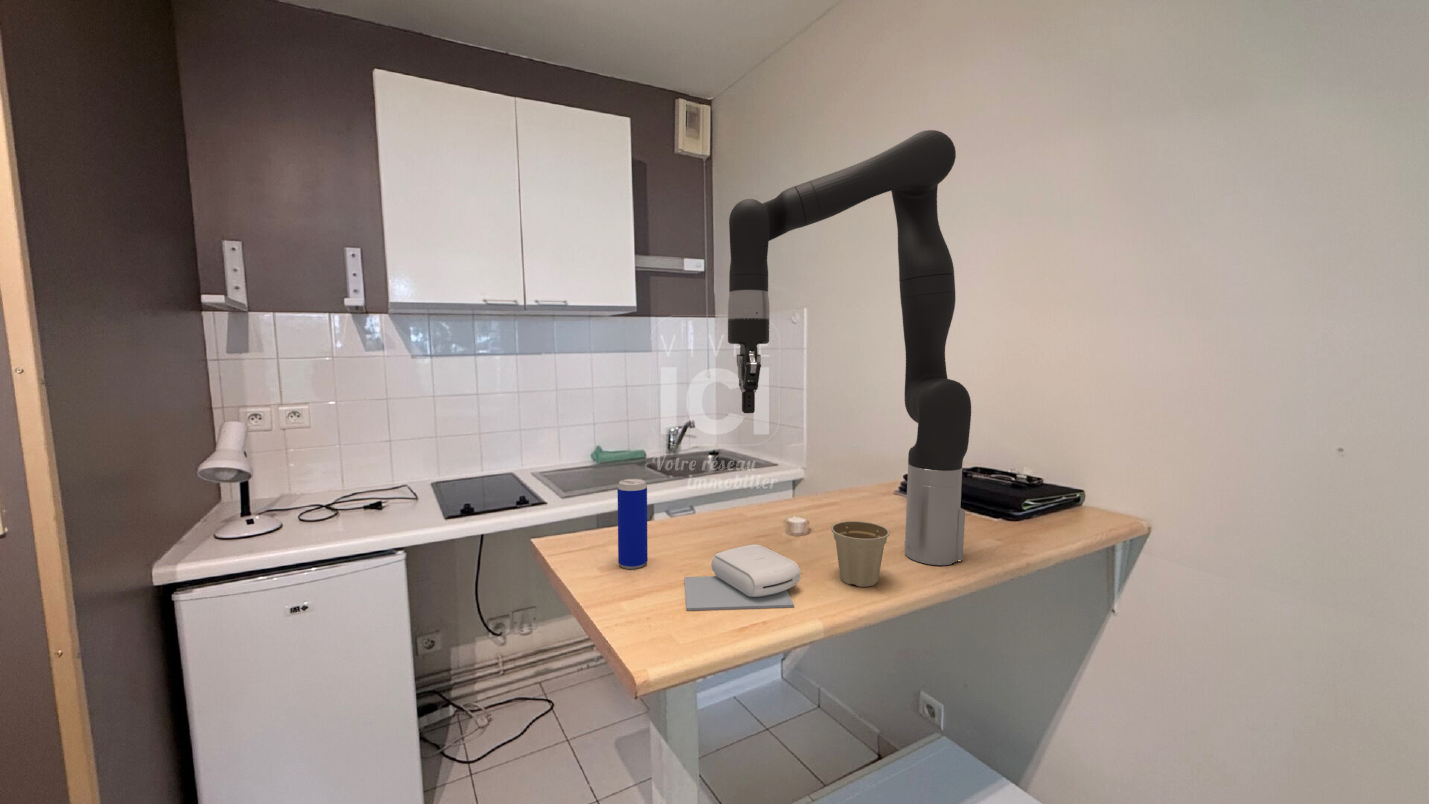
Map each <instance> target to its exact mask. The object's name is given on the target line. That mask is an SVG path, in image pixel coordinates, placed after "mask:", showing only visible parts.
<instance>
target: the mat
mask: <svg viewBox="0 0 1429 804" xmlns="http://www.w3.org/2000/svg"><path fill="white" fill-rule="evenodd" d="M684 591H685V592H684V594H685V605H686V606H685V611H687V612H690V611H691V612H692V611H695V612H696V611H718V610H719V611H721V610H722V611H723V610H746V609H747V610H748V609H749V610H750V609H751V610H753V609H754V610H755V609H779V608H780V609H785V608H795V604H794V601H793V600H792V598H791V596H790V594H789V592H788V589H787V590H784V591H782V592H779V593H775V594H771V595H767V596H760V597H751V596H748V595H746V594H745V593H743V592H741V591H740V590H738V589H736V588H735V587H733V586H732V585H730V584H728V583H727V582H725V581H724V580H722V579H720V578H719V577H717V576H716V575H710V576H709V575H708V576H684Z"/></svg>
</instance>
